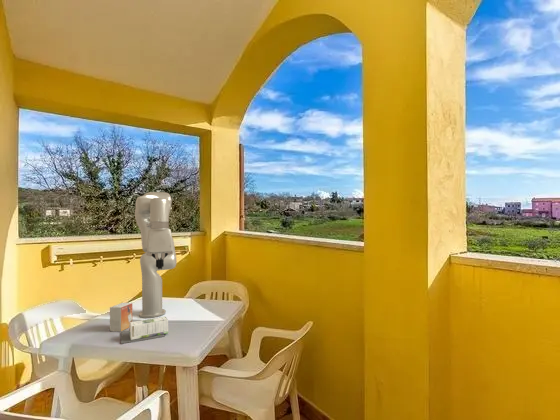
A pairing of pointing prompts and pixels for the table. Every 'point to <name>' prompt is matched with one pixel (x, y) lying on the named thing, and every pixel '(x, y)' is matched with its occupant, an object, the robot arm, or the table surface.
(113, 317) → the small box
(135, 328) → the syrup box
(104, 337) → the table surface
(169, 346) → the table surface
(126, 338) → the mat
